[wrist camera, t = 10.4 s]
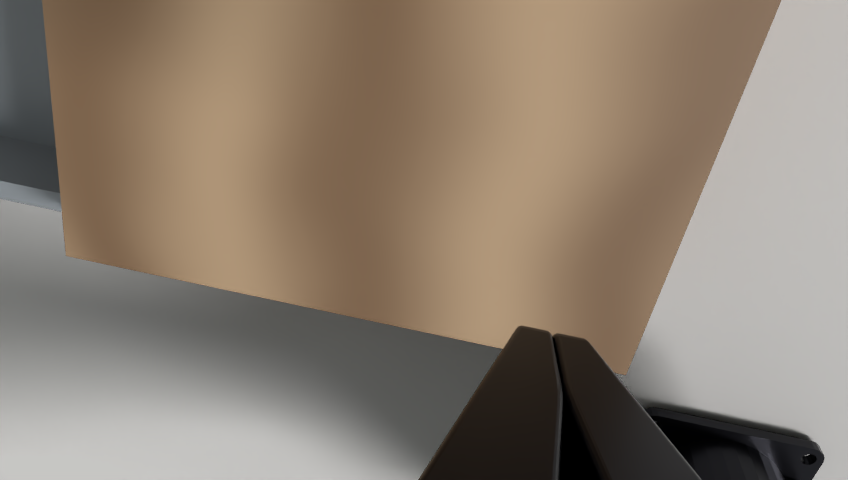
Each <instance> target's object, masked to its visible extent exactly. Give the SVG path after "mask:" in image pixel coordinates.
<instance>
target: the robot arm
mask: <svg viewBox="0 0 848 480" xmlns="http://www.w3.org/2000/svg"><path fill="white" fill-rule="evenodd" d="M654 421H657V422H656V423H655V422H654ZM807 454H810V455H808V456H804V455H807ZM823 461H824V455H823V453H822V451H821V449H820V447H819V445H818V444H817V443H815V442H812V441H809V440H804V439H800V438H795V437H790V436H786V435H781V434H776V433H771V432H767V431H762V430H757V429H753V428H748V427H743V426H739V425H734V424H729V423H725V422H720V421H715V420H711V419H706V418H701V417H697V416H692V415H687V414H683V413H678V412H673V411H669V410H664V409H659V408H647V409H644V408H643V407H642V406H641V405H640V404H639V402H638V401H637V400H636V399H635V397H634V396H633V395H632V394H631V393H630V391H629V390H628V389H627V388H626V386H625V385H624V384H623V383H622V381H621V380H620V379H619V378H618V377H617V375H616V374H615V373H614V372H613V370H612V369H611V368H610V367H609V366H608V364H607V363H606V362H605V361H604V359H603V358H602V357H601V356H600V355H599V353H598V352H597V351H596V350H595V348H594V347H593V346H592V345H591V343H590V342H589V341H587V340H586V339H584V338H580V337H575V336H570V335H565V334H560V333H556V334H554V335H553V336H552V334H551V333H550V332H549V331H546V330H542V329H537V328H532V327H528V326H522V325H521V326H518V327H517V328H516V329H515V331H514V332H513V334H512V336H511V337H510V339H509V340H508V342H507V343H506V345H505V346H504V348H503V349H502V351H501V353H500V354H499V356H498V357H497V359H496V360H495V362H494V363H493V365H492V366H491V368H490V370H489V371H488V373H487V374H486V376H485V377H484V379H483V380H482V382H481V383H480V385H479V387H478V388H477V390H476V391H475V393H474V394H473V396H472V397H471V399H470V400H469V402H468V404H467V405H466V407H465V408H464V410H463V411H462V413H461V414H460V416H459V418H458V419H457V421H456V422H455V424H454V425H453V427H452V428H451V430H450V431H449V433H448V435H447V436H446V438H445V439H444V441H443V442H442V444H441V445H440V447H439V448H438V450H437V452H436V453H435V455H434V456H433V458H432V459H431V461H430V462H429V464H428V465H427V467H426V469H425V470H424V472H423V473H422V475H421V476H420V478H419V479H418V480H812V479H813V477H814V476H815V474H816V473H817V471H818V470H819V468H820V466H821V465H822V463H823Z"/></svg>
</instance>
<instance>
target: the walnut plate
mask: <svg viewBox="0 0 848 480" xmlns="http://www.w3.org/2000/svg"><path fill="white" fill-rule="evenodd" d="M780 2H781V0H42V5H43V16H44V27H45V37H46V48H47V59H48V69H49V80H50V91H51V101H52V112H53V123H54V133H55V144H56V155H57V165H58V176H59V187H60V197H61V208H62V219H63V229H64V240H65V251H66V256H69V257H74V258H78V259H83V260H88V261H92V262H97V263H102V264H106V265H111V266H116V267H120V268H125V269H130V270H135V271H139V272H144V273H149V274H153V275H158V276H163V277H167V278H172V279H177V280H181V281H186V282H191V283H196V284H200V285H205V286H210V287H214V288H219V289H224V290H228V291H233V292H238V293H242V294H247V295H252V296H257V297H261V298H266V299H271V300H275V301H280V302H285V303H289V304H294V305H299V306H303V307H308V308H313V309H318V310H322V311H327V312H332V313H336V314H341V315H346V316H350V317H355V318H360V319H364V320H369V321H374V322H379V323H383V324H388V325H393V326H397V327H402V328H407V329H411V330H416V331H421V332H425V333H430V334H435V335H440V336H444V337H449V338H454V339H458V340H463V341H468V342H472V343H477V344H482V345H486V346H491V347H496V348H501V349H503V348H504V346H505V345H506V343H507V342H508V340H509V339H510V337H511V336H512V334H513V332H514V331H515V329H516V328H517V327H518V326H521V325H522V326H528V327H532V328H537V329H542V330H546V331H549V332H550V333H551V334H552V336H553V335H554V334H556V333H560V334H565V335H570V336H575V337H580V338H584V339H586V340H587V341H589V342H590V343H591V345H592V346H593V347H594V348H595V350H596V351H597V352H598V353H599V355H600V356H601V357H602V358H603V359H604V361H605V362H606V363H607V364H608V366H609V367H610V368H611V369H612V370H613V372H614V373H618V374H623V375H626V374H627V371H628V369H629V366H630V364H631V362H632V359H633V357H634V354H635V352H636V350H637V347H638V345H639V342H640V340H641V337H642V335H643V333H644V330H645V328H646V325H647V323H648V321H649V318H650V316H651V313H652V311H653V308H654V306H655V304H656V301H657V299H658V296H659V294H660V292H661V289H662V287H663V284H664V282H665V280H666V277H667V275H668V272H669V270H670V267H671V265H672V263H673V260H674V258H675V255H676V253H677V251H678V248H679V246H680V243H681V241H682V239H683V236H684V234H685V231H686V229H687V226H688V224H689V222H690V219H691V217H692V214H693V212H694V210H695V207H696V205H697V202H698V200H699V198H700V195H701V193H702V190H703V188H704V185H705V183H706V181H707V178H708V176H709V173H710V171H711V169H712V166H713V164H714V161H715V159H716V157H717V154H718V152H719V149H720V147H721V144H722V142H723V140H724V137H725V135H726V132H727V130H728V128H729V125H730V123H731V120H732V118H733V116H734V113H735V111H736V108H737V106H738V103H739V101H740V99H741V96H742V94H743V91H744V89H745V87H746V84H747V82H748V79H749V77H750V75H751V72H752V70H753V67H754V65H755V62H756V60H757V58H758V55H759V53H760V50H761V48H762V46H763V43H764V41H765V38H766V36H767V33H768V31H769V29H770V26H771V24H772V21H773V19H774V17H775V14H776V12H777V9H778V7H779V5H780Z"/></svg>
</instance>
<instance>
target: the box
mask: <svg viewBox="0 0 848 480" xmlns="http://www.w3.org/2000/svg"><path fill="white" fill-rule="evenodd" d="M0 199H4V200H9V201H13V202H18V203H23V204H27V205H32V206H37V207H42V208H46V209H51V210H56V211H60V212H62V208H61V197H60V187H59V176H58V165H57V155H56V144H55V133H54V123H53V112H52V101H51V91H50V80H49V69H48V59H47V48H46V37H45V27H44V16H43V5H42V0H0Z"/></svg>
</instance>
